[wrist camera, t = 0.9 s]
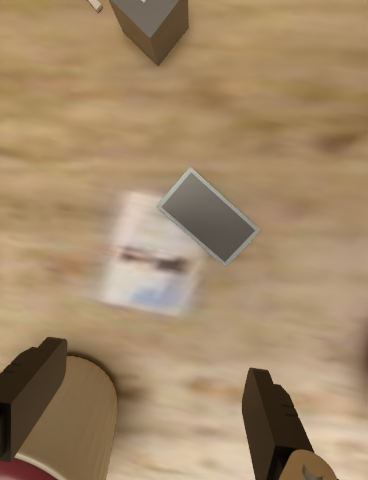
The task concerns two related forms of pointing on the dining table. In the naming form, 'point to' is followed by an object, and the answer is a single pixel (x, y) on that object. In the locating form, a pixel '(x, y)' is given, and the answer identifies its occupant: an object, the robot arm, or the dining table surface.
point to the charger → (152, 24)
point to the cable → (96, 5)
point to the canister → (70, 430)
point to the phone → (207, 217)
